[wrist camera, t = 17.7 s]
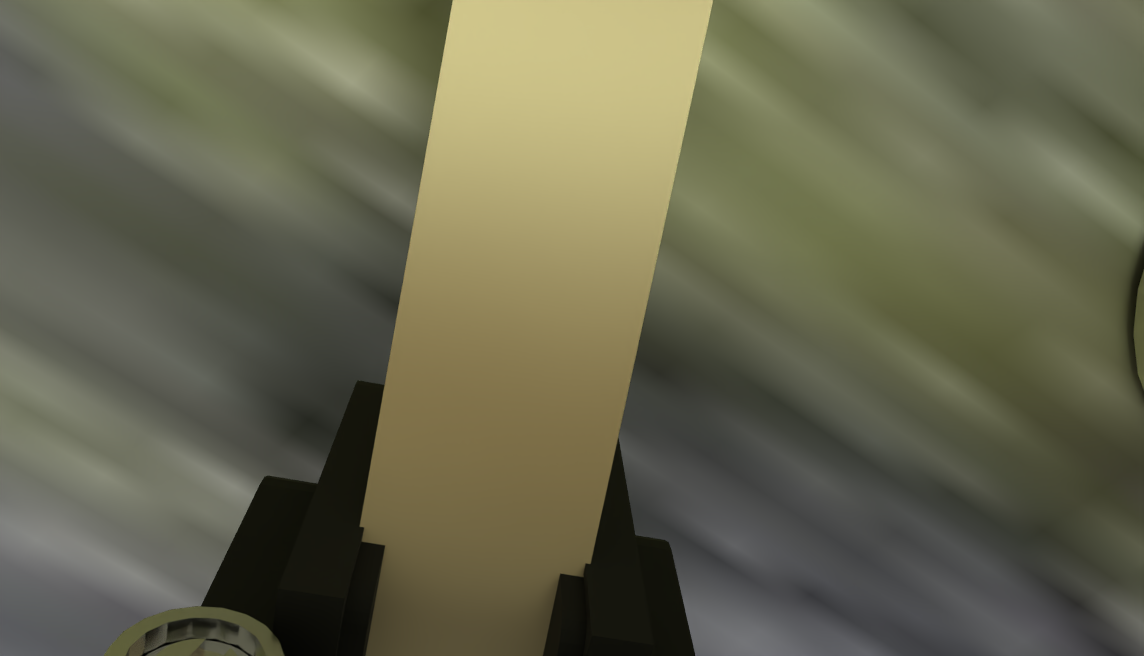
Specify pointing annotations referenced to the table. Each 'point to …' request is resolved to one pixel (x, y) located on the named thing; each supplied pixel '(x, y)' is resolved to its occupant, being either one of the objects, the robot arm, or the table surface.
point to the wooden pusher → (522, 311)
